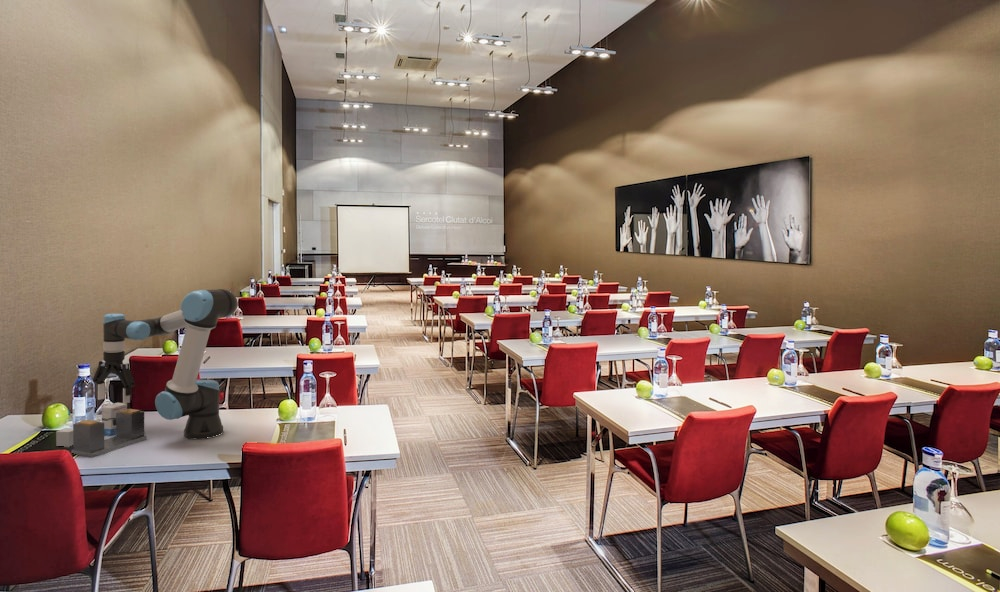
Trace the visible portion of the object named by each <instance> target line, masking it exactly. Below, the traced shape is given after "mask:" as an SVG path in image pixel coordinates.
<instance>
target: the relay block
mask: <svg viewBox="0 0 1000 592" xmlns="http://www.w3.org/2000/svg"><path fill="white" fill-rule="evenodd" d="M55 432H56V435H55V436H56V437H55V438H56V439H55V440H56V441H55V442H56V446H64V447H63V448H71V447H73V446H72V445H73V427H65V428H62V429H60V430H56V431H55ZM56 446H55V447H56ZM70 446H71V447H70Z"/></svg>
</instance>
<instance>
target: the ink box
mask: <svg viewBox="0 0 1000 592" xmlns="http://www.w3.org/2000/svg"><path fill="white" fill-rule="evenodd" d="M126 409H128V403H126V404H123V402H114V403H111V404H106V405H103V406H102V407H101V422H104V436H114V435H116V413H117V412H120V411H122V410H126Z"/></svg>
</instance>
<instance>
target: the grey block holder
mask: <svg viewBox="0 0 1000 592" xmlns="http://www.w3.org/2000/svg"><path fill="white" fill-rule="evenodd" d="M72 428H73V446H72V447H73V449H71V454H72V453H74V454H73V455H75V454H77V455H76V456H81V457H88V458H94V457H97V456H100V455H103V454H106V453H109V452H112V451H115V450H118V449H121V448H125V447H127V446H131V445H133V444H137V443H139V442H142V441H145V440H147V435H145V411H144V410H141V409H135V408H134V409H133V408H127V409H126V410H122V411H120V412H117V413H116V434H115V435H116V436H113V437H109V438H106V439H105V435H104V422H102V421H99V420H94V419H84V420H81V421H78V422H76V423H73V425H72Z"/></svg>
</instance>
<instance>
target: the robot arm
mask: <svg viewBox="0 0 1000 592" xmlns="http://www.w3.org/2000/svg"><path fill="white" fill-rule="evenodd" d="M238 304H239V303H238V298H237V297H236V295H235V294H234V293H233V292H232V291H230V290H228V289H225V288H218V289H197V290H194V291H190V292H189V293H187V294H186V295H185V296H184V297H183V299H182V301H181V303H180V309H179V310H176V311H174V312H170V313H168V314H165V315H162V316H159V317H155V318H149V319H148V318H146V319H138V320H130V319H128V320H127V319H126V316H125V314H123V313H107V314H105V315H104V316H103V323H102V325H103V328H102V329H103V343H102V344H103V347H102V348H103V349H102V350H103V351H104V352H103V357H102V359H103V360H99V362H98V366H97V368H96V371H95V374H94V376H93V379H92V382H93V383H95V384H96V391H97V400H99V401H100V400H105V399H106V383H105V380H106V379H107V378H108V377H109V376H110V374H115V376H117V377H118V378H119V380H120V381H121V384H122V385H123V386H124V387H123V388H122V403H123V404H129V403H131V394H132V388H133V387H136V383H135V379H134V377H133V375H132V371H131V369H130V363H124V362H123V361H125V358H126V357H125V352H126V351H124V350H126V349H125V344H126V343H125V341H126V340H125V339H129V340H133V341H137V340H139V341H143V340H146V339H147V338H151V337H159V336H167V335H169V334H172V333H173V332H175V331H177V330H180V329H183V328H185V331H184V332H185V333H184V335H183V338H182V343H181V346H180V350H179V353H178V357H177V360H176V365H175V368H174V372H173V375H172V379H170V380H168V381H167V382H166V385H165V388H164V391H161V392H159V393H158V394H157V395H156V396H155V400H154V405H155V409H156V410H157V413H158V414H159V415H160V416H161V418H164V419H165V420H170V421H172V420H178V419H180V418H183V417H187V416H188V419H187V421H186V424H185V428H184V430H183V436H184V438H187V439H191V438H192V439H193V440H200V439H199V438H205V439H208V438H207V437H212V438H214V437H213V436H216V435H219V434H221V433H222V432H223V433H224V426H223V424H222V420H221V417H220V392H221V391H220V383H219V381H217V380H213V379H198V375H199V372H200V368H201V365H202V362H203V359H204V355H205V351H206V347H207V345H208V340H209V337H210V334H211V330H213V329H215V328H216V327H217V324H218V320H219V319H223V318H228V317H230V316H232V315H233V314H234V313H235V312H236V311H237V309H238ZM221 435H222V434H221ZM219 436H220V435H219ZM216 437H217V436H216Z"/></svg>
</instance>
